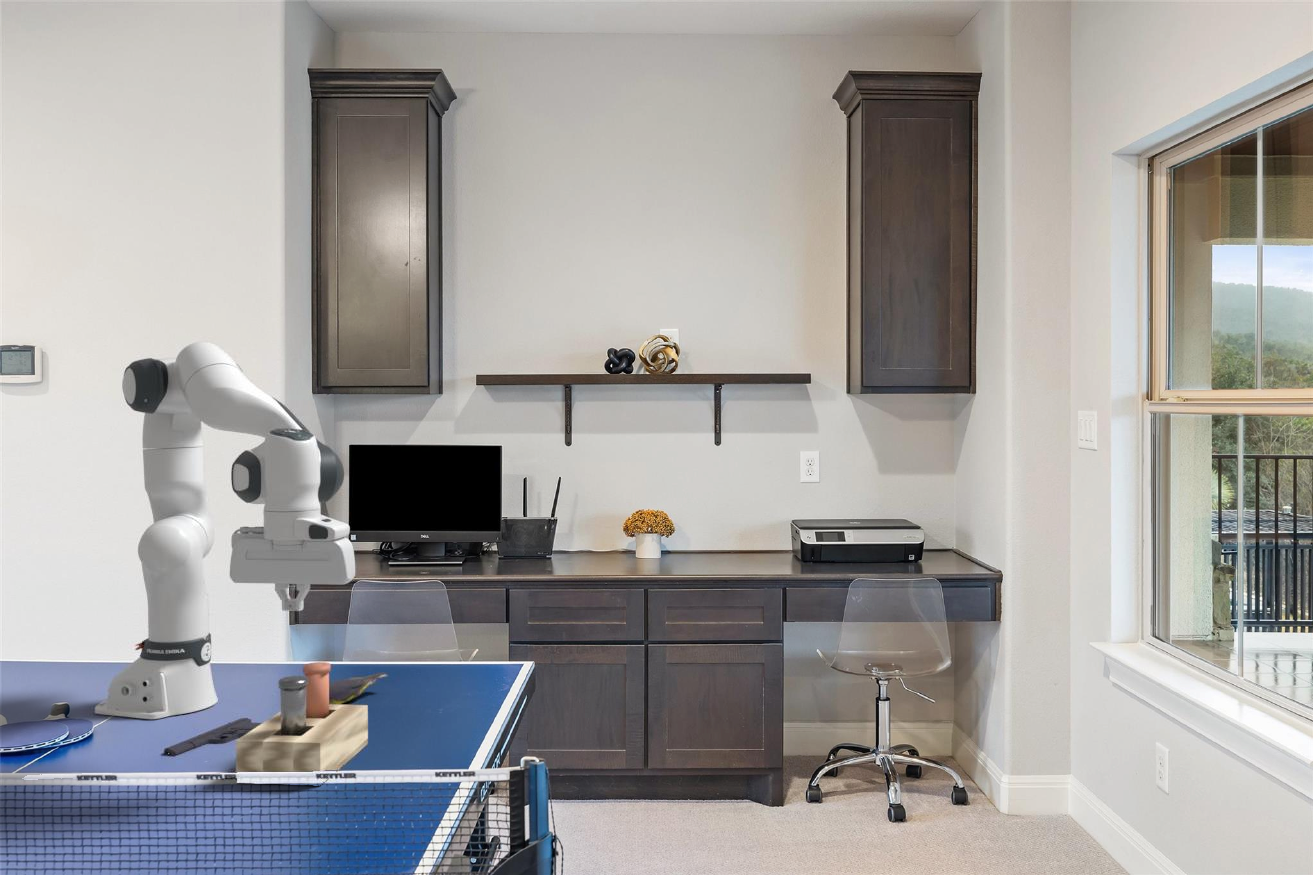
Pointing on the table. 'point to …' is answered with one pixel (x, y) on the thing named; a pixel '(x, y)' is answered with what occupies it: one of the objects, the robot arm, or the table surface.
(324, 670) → the rust plug
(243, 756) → the beech block
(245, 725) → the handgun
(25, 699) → the table surface
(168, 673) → the robot arm
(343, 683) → the bird model
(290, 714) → the metal plug
